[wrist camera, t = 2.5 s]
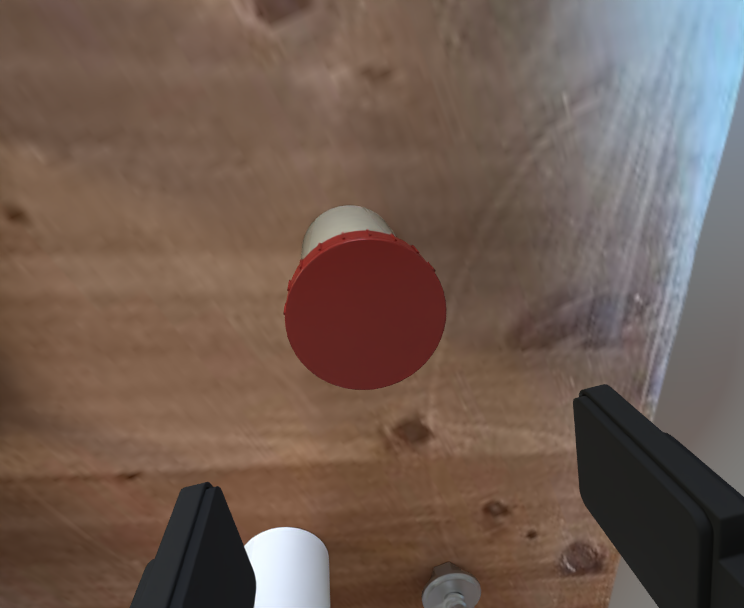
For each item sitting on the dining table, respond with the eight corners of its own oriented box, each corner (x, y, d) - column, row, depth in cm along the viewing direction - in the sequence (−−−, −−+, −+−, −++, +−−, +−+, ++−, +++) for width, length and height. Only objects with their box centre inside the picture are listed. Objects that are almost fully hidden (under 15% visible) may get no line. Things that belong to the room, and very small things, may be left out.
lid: (369, 195, 20) (373, 201, 19) (467, 306, 22) (479, 319, 21) (253, 302, 21) (248, 317, 20) (358, 398, 24) (361, 419, 22)
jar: (352, 184, 30) (371, 214, 19) (415, 254, 31) (463, 316, 21) (281, 250, 30) (264, 313, 20) (347, 315, 32) (361, 402, 22)
